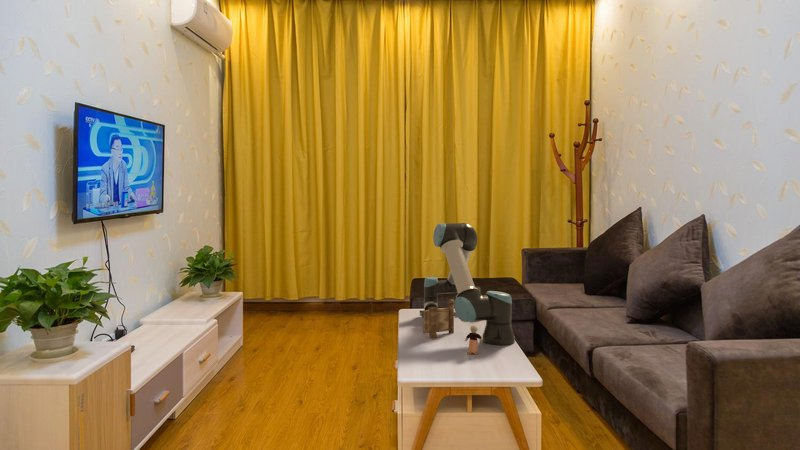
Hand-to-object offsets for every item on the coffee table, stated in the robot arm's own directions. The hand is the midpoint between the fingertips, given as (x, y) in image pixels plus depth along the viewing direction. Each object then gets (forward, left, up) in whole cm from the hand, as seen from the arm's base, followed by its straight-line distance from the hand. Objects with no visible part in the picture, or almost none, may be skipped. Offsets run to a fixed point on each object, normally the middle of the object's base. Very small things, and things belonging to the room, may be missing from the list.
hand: (432, 321), depth 256 cm
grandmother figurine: (-34, 0, -7) cm, 35 cm away
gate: (-1, -1, -5) cm, 5 cm away
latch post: (-6, +4, -7) cm, 9 cm away
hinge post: (-2, -10, -7) cm, 12 cm away
